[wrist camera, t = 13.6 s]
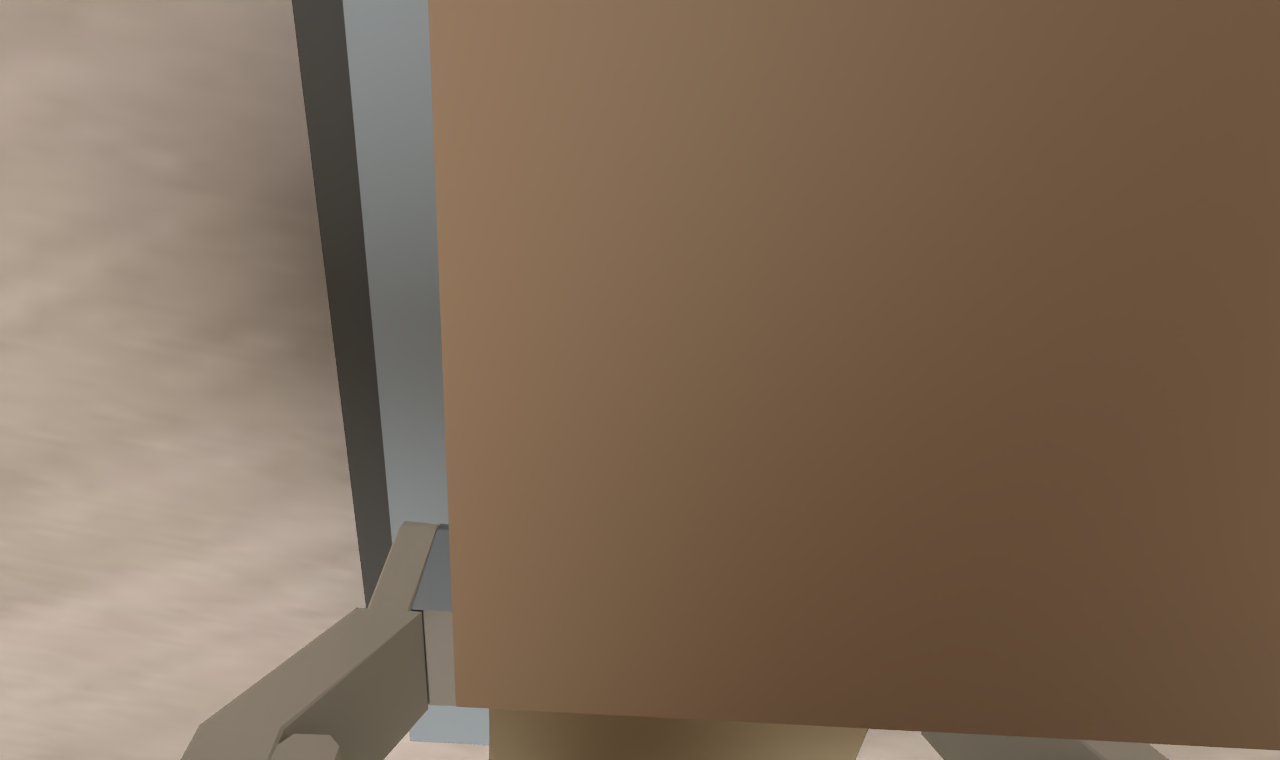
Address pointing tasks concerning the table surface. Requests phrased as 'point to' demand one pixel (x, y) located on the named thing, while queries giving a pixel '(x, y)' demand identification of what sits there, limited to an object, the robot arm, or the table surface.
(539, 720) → the pallet
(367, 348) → the dock
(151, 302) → the table surface
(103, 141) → the table surface
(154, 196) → the table surface
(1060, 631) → the block
